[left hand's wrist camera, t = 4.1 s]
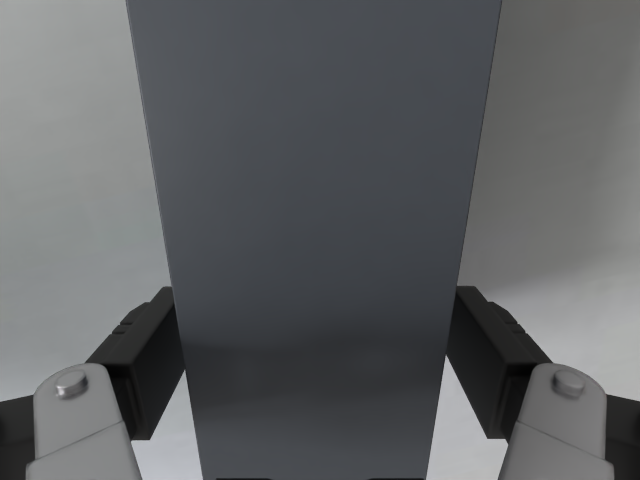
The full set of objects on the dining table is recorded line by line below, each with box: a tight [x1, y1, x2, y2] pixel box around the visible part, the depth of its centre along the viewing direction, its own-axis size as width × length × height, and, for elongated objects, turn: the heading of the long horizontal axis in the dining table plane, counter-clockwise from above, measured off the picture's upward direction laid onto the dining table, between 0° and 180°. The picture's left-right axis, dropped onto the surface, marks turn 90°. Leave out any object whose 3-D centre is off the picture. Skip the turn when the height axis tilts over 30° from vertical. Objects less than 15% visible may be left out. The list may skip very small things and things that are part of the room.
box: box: [126, 0, 502, 480], centre depth 10 cm, size 25×6×9 cm, turn 0°
